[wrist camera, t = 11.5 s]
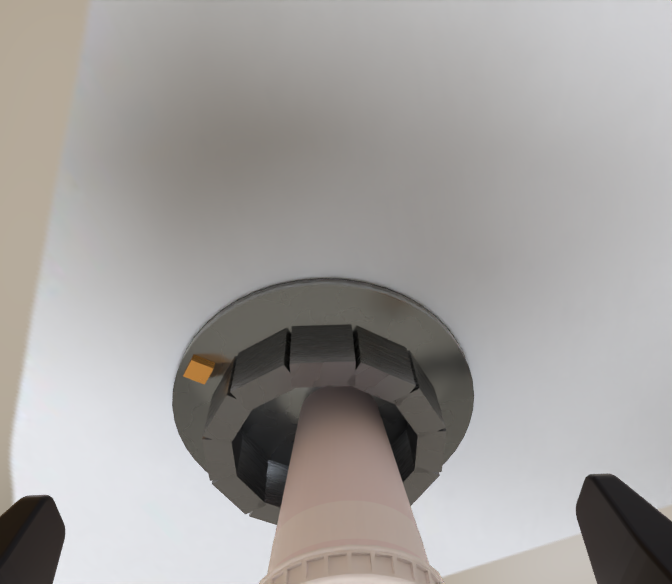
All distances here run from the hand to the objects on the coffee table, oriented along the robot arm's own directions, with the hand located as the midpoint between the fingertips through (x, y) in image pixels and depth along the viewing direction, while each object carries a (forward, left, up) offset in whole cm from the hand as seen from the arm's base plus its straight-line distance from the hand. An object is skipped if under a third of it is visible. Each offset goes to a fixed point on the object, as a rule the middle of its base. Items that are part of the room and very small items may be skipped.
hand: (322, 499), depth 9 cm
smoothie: (-6, +8, -13) cm, 16 cm away
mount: (-5, +9, -13) cm, 16 cm away
